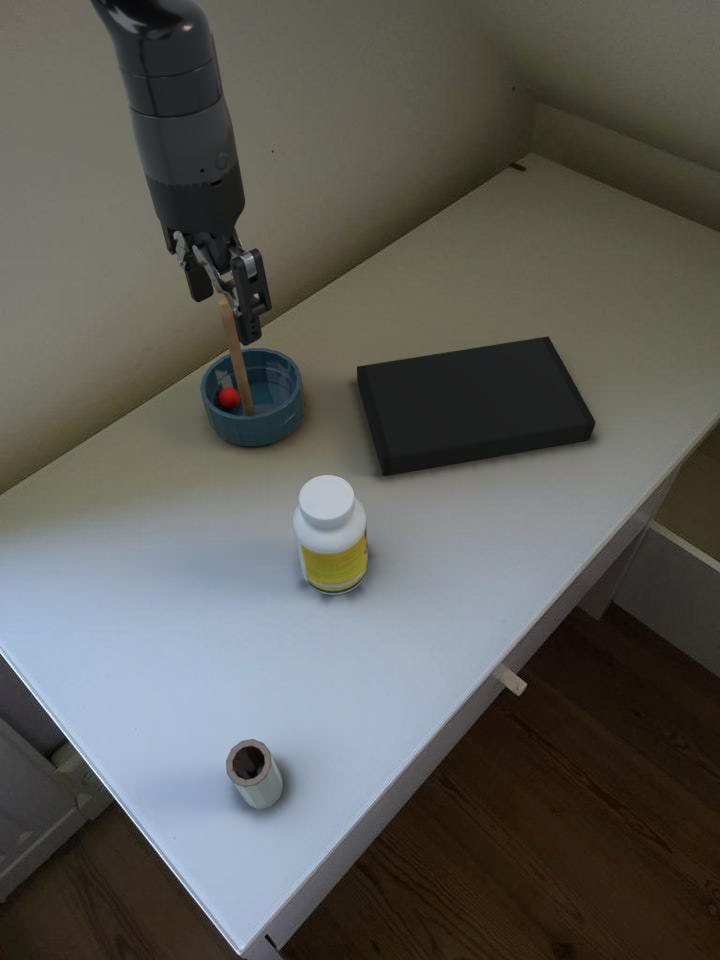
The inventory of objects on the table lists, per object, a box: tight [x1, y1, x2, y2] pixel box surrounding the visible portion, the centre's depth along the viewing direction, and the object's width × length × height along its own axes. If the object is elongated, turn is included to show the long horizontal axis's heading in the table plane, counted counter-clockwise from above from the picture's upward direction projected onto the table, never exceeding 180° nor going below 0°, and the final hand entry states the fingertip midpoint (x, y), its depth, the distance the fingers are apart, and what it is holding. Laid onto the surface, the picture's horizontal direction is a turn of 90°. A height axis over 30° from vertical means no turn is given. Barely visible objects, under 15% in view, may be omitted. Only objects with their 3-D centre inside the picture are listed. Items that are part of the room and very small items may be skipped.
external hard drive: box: [356, 336, 596, 476], centre depth 77 cm, size 14×23×3 cm, turn 101°
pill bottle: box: [292, 474, 369, 596], centre depth 62 cm, size 6×6×12 cm
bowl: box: [199, 347, 306, 447], centre depth 77 cm, size 11×11×5 cm
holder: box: [225, 738, 284, 810], centre depth 52 cm, size 3×3×7 cm
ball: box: [218, 388, 240, 409], centre depth 78 cm, size 2×2×2 cm
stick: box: [217, 296, 255, 416], centre depth 72 cm, size 1×1×16 cm
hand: (226, 318), depth 67 cm, fingers open, 8 cm apart
